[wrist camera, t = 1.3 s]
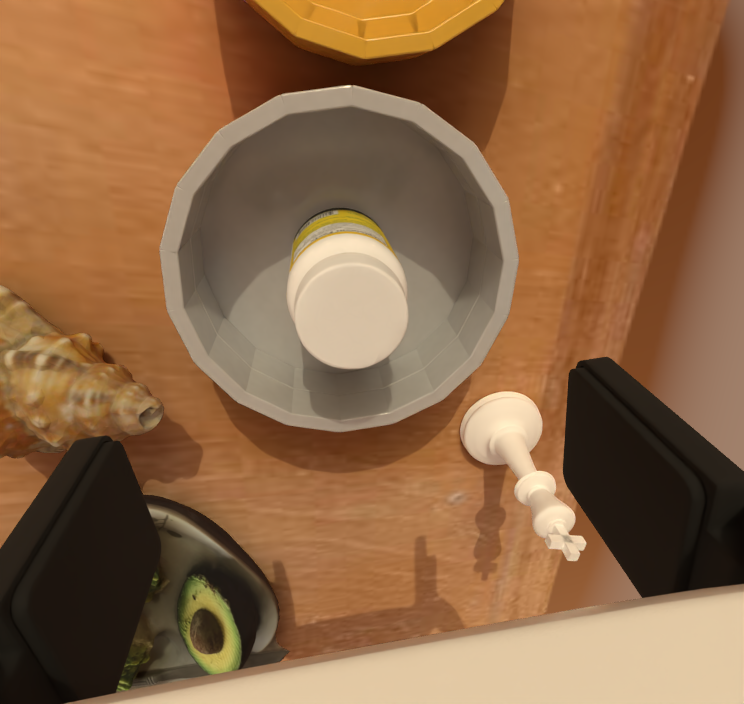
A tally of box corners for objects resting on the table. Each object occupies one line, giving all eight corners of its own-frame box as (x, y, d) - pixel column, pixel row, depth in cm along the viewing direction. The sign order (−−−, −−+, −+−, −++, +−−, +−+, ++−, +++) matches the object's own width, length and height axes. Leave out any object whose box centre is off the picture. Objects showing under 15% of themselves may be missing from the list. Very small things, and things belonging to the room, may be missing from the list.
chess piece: (471, 387, 30) (538, 510, 21) (550, 395, 31) (647, 517, 22) (451, 455, 32) (504, 595, 23) (525, 462, 33) (605, 598, 24)
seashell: (88, 238, 27) (136, 321, 20) (133, 361, 32) (184, 462, 25) (-135, 289, 23) (-167, 414, 16) (-45, 422, 28) (-42, 562, 21)
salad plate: (111, 723, 40) (89, 795, 36) (-95, 597, 33) (-154, 670, 28) (322, 617, 37) (323, 681, 33) (149, 451, 30) (122, 508, 26)
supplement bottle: (372, 310, 27) (395, 393, 19) (281, 288, 26) (268, 366, 18) (400, 219, 25) (438, 272, 17) (304, 191, 24) (300, 235, 16)
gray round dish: (146, 113, 22) (104, 117, 18) (480, 68, 23) (521, 61, 18) (227, 397, 29) (212, 453, 24) (486, 357, 29) (518, 405, 25)
